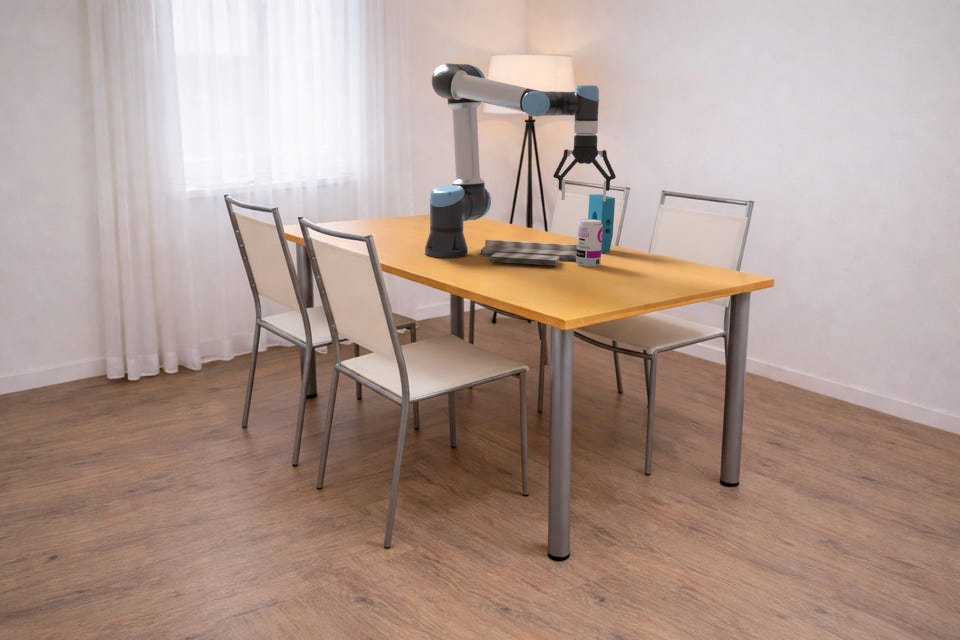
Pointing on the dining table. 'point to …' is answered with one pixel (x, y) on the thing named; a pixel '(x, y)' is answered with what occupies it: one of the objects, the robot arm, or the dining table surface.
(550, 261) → the plank
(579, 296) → the dining table surface
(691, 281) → the dining table surface
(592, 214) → the block
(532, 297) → the dining table surface
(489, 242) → the floorboard
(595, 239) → the supplement can
